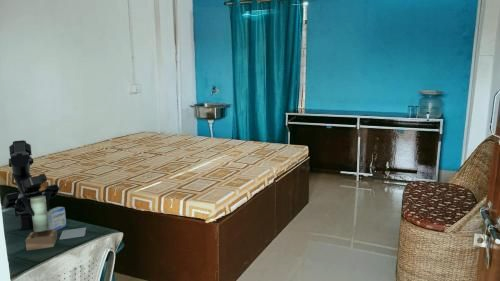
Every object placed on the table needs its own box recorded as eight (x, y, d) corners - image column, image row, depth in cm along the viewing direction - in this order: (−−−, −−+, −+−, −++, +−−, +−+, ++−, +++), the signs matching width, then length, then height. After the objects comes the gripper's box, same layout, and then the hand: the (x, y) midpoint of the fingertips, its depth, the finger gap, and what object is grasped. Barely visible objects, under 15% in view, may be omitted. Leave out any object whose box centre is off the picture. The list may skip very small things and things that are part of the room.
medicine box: (53, 232, 152) (51, 212, 151) (44, 232, 153) (42, 212, 152) (66, 226, 160) (65, 206, 158) (57, 225, 160) (56, 206, 159)
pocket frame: (32, 241, 142) (31, 232, 142) (57, 238, 145) (56, 228, 145) (26, 250, 134) (25, 240, 133) (53, 246, 137) (52, 236, 136)
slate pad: (63, 231, 152) (62, 230, 152) (86, 228, 155) (86, 227, 155) (59, 239, 144) (59, 238, 144) (84, 236, 147) (84, 234, 147)
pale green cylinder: (35, 228, 140) (31, 196, 139) (49, 226, 142) (46, 195, 141) (32, 232, 136) (28, 199, 134) (47, 230, 137) (44, 198, 136)
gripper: (2, 173, 131) (19, 207, 126) (54, 164, 146) (72, 194, 141) (-5, 191, 136) (12, 225, 131) (47, 181, 151) (63, 211, 146)
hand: (41, 213), depth 137 cm, fingers closed on pale green cylinder, 5 cm apart
